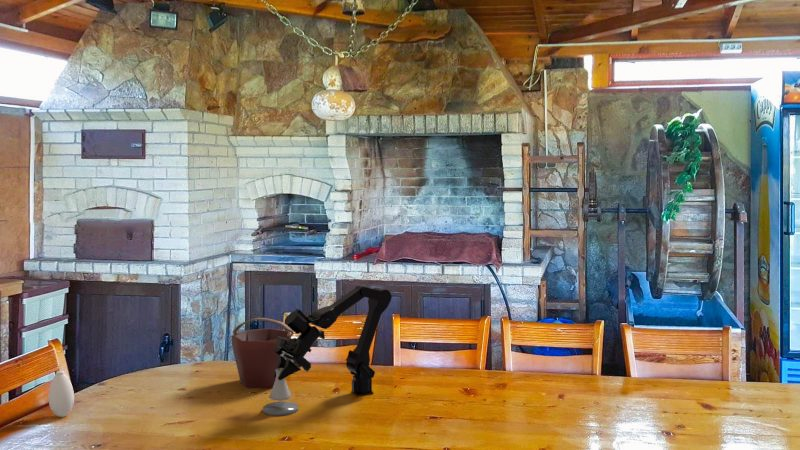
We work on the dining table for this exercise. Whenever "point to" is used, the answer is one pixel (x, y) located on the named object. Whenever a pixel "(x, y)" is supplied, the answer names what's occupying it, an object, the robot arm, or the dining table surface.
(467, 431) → the dining table surface
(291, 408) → the slate coaster
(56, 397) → the grey teardrop piece
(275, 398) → the flask
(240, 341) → the bucket
